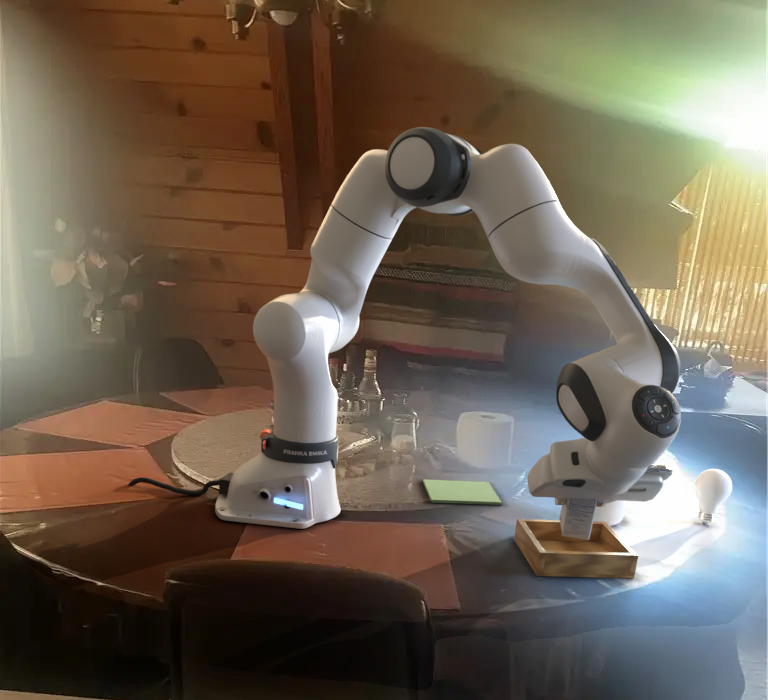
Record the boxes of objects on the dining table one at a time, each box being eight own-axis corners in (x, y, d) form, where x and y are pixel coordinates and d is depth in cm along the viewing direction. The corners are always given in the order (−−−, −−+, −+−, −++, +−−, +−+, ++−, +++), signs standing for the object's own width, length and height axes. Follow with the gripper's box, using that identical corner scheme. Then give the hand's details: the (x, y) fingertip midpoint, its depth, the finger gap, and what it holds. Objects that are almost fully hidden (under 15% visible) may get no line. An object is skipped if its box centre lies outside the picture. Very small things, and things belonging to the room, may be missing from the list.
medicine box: (588, 541, 121) (600, 491, 118) (560, 536, 121) (571, 486, 119) (584, 524, 128) (595, 476, 126) (558, 519, 129) (568, 471, 126)
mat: (431, 502, 147) (431, 499, 146) (422, 481, 158) (422, 479, 158) (501, 505, 148) (502, 502, 148) (488, 484, 160) (488, 481, 159)
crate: (536, 576, 119) (540, 552, 117) (514, 539, 132) (516, 518, 131) (634, 578, 120) (638, 555, 119) (602, 542, 134) (605, 521, 132)
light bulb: (729, 525, 147) (742, 472, 143) (712, 532, 142) (725, 477, 139) (697, 514, 151) (709, 462, 148) (680, 520, 147) (691, 467, 144)
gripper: (673, 448, 114) (635, 487, 126) (542, 441, 112) (516, 481, 124) (681, 486, 111) (641, 522, 123) (546, 479, 109) (519, 517, 121)
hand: (577, 501), depth 124 cm, fingers closed on medicine box, 5 cm apart
